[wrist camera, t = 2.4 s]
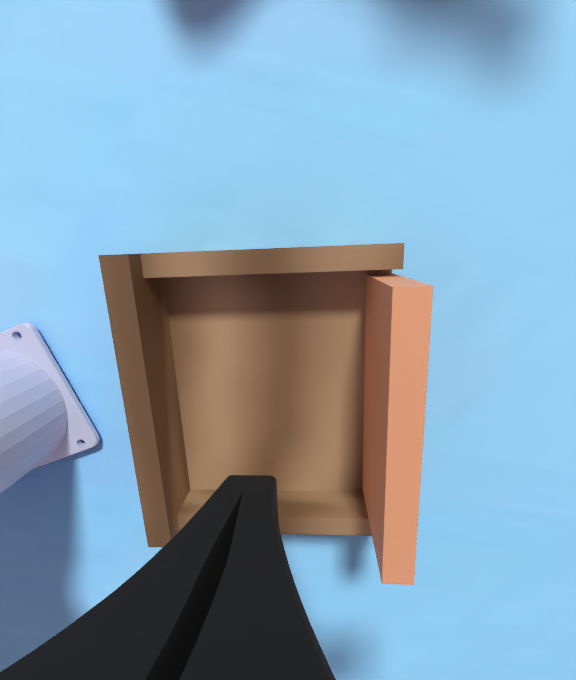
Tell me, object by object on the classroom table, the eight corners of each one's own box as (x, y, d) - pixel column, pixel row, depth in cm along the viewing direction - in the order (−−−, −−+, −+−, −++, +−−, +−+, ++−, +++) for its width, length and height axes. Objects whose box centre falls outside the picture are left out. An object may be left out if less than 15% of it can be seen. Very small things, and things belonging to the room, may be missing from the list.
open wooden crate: (181, 486, 22) (148, 546, 17) (150, 253, 18) (98, 255, 14) (378, 489, 21) (396, 553, 16) (386, 244, 17) (411, 242, 13)
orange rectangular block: (362, 489, 19) (382, 583, 14) (365, 274, 16) (392, 287, 11) (385, 489, 19) (413, 584, 13) (392, 273, 16) (433, 286, 11)
